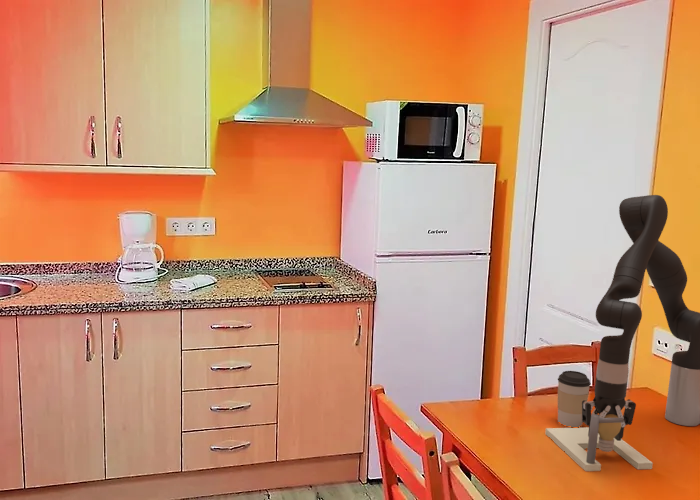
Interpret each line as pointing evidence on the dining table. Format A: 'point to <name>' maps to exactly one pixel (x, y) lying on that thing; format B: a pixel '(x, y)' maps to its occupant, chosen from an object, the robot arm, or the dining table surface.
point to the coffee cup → (572, 397)
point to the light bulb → (608, 434)
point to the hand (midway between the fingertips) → (605, 439)
